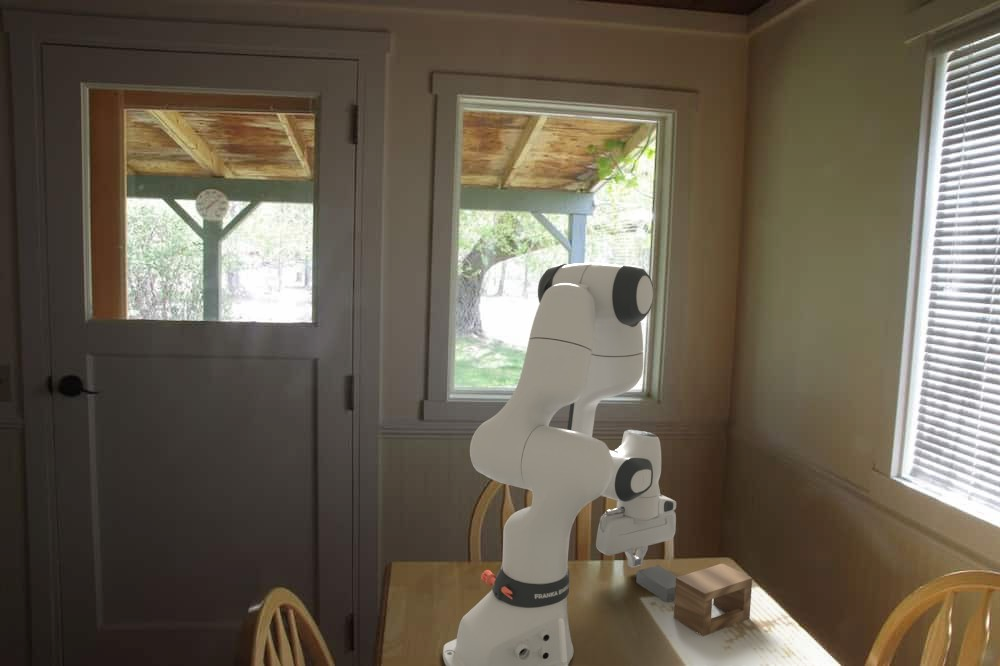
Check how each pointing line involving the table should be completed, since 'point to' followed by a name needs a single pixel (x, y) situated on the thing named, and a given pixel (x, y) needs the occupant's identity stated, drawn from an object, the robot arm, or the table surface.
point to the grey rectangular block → (658, 582)
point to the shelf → (712, 584)
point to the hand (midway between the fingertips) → (634, 565)
